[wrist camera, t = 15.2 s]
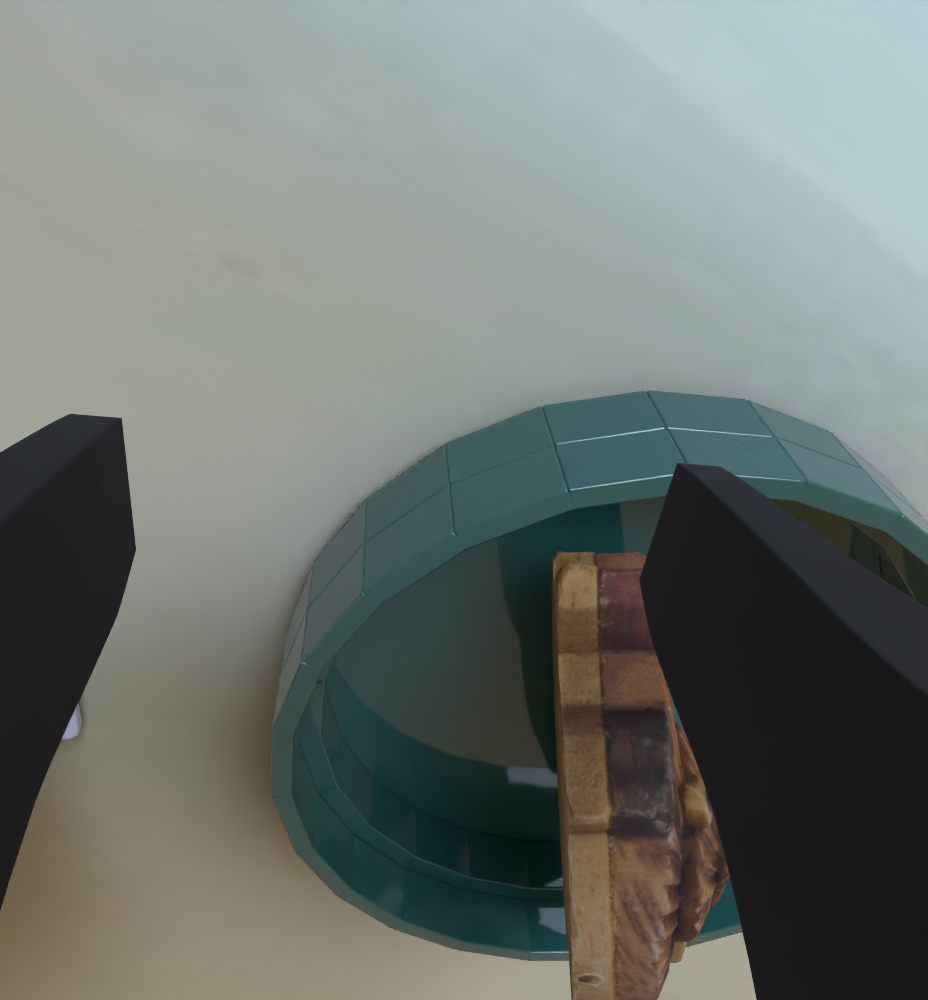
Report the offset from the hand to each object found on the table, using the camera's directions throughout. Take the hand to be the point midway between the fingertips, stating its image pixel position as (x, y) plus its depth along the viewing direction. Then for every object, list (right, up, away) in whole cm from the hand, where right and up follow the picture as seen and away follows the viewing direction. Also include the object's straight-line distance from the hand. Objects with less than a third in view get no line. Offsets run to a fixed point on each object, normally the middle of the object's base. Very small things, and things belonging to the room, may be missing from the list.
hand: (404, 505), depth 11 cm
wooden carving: (+5, -5, +16) cm, 18 cm away
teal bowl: (+6, -5, +17) cm, 18 cm away
